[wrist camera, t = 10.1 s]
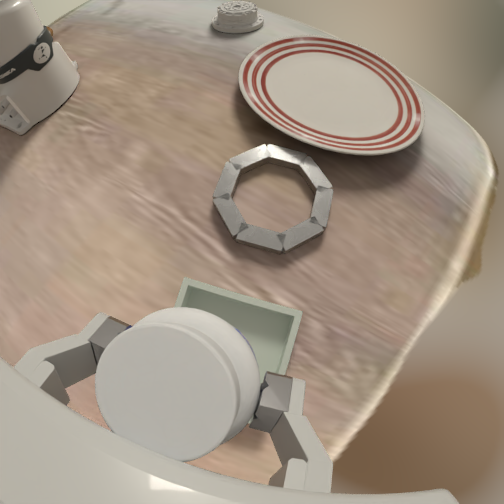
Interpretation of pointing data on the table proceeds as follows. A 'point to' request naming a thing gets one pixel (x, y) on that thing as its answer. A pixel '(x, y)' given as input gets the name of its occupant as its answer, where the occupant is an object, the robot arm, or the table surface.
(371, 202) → the table surface
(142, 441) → the pill bottle
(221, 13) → the mechanical component
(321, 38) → the dinner plate
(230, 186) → the collar
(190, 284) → the bin
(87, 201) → the table surface
